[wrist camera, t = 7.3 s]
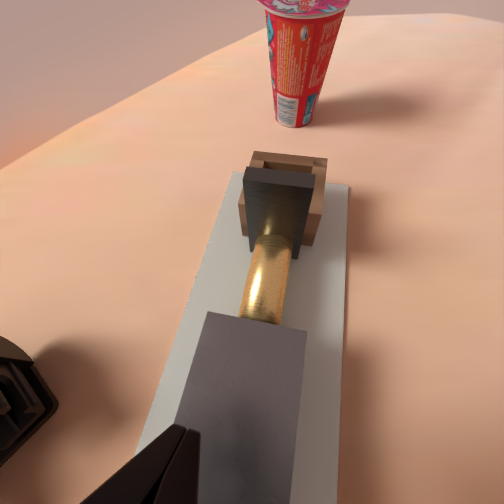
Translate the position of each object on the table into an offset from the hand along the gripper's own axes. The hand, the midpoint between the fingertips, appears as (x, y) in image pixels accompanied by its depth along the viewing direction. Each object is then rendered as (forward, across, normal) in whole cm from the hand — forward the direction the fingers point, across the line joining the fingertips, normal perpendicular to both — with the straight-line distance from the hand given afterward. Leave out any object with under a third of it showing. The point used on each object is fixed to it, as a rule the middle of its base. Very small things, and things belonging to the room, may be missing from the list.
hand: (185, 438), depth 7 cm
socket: (+21, -1, -5) cm, 21 cm away
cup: (+33, +2, -18) cm, 37 cm away
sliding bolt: (+16, -1, 0) cm, 16 cm away
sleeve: (+9, -2, +8) cm, 12 cm away
